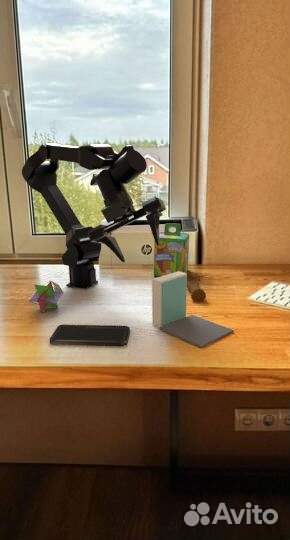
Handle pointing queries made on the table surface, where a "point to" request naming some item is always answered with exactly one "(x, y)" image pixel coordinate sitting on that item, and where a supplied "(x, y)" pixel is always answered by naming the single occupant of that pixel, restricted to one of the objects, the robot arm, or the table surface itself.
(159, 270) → the chalk box
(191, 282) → the primitive tool
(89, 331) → the phone
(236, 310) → the table surface
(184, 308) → the cream flat block
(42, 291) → the geometric puzzle
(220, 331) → the mat
